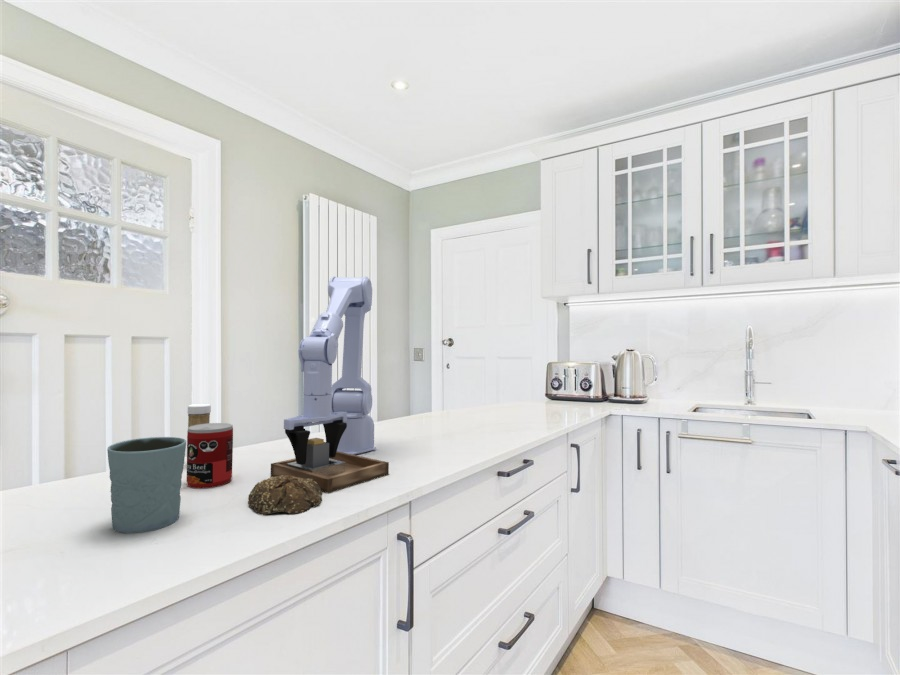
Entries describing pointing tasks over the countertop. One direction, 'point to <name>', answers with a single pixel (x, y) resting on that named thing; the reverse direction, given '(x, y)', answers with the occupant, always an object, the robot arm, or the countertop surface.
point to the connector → (317, 453)
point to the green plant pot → (145, 483)
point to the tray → (355, 473)
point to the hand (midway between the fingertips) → (316, 459)
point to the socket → (323, 468)
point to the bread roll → (284, 495)
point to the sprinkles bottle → (198, 414)
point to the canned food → (209, 455)
